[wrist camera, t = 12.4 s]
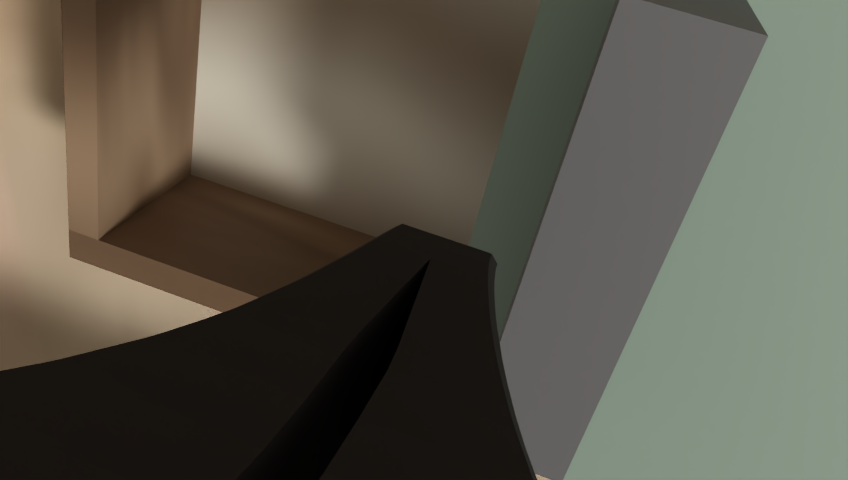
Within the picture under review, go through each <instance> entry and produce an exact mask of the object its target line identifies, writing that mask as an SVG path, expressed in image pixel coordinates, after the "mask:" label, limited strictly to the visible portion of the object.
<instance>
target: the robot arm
mask: <svg viewBox="0 0 848 480" xmlns="http://www.w3.org/2000/svg"><path fill="white" fill-rule="evenodd" d="M496 267H497V262H496V260H495V259H494V257H493V255H492V254H491V253H488V252H486V251H483V250H480V249H477V248H474V247H471V246H468V245H465V244H462V243H459V242H456V241H453V240H450V239H447V238H444V237H441V236H438V235H435V234H432V233H429V232H426V231H423V230H420V229H417V228H414V227H411V226H408V225H405V224H400V225H398V226H396V227H394V228H392V229H390V230H388V231H386V232H385V233H383V234H381V235H379V236H378V237H376V238H374V239H372V240H371V241H369V242H367V243H365V244H364V245H362V246H360V247H358V248H357V249H355V250H353V251H351V252H349V253H348V254H346V255H344V256H342V257H341V258H339V259H337V260H335V261H333V262H331V263H329V264H327V265H325V266H323V267H321V268H320V269H318V270H316V271H314V272H312V273H310V274H308V275H306V276H304V277H302V278H300V279H298V280H296V281H294V282H292V283H290V284H288V285H286V286H284V287H281V288H279V289H277V290H275V291H272V292H270V293H268V294H266V295H263V296H261V297H259V298H257V299H254V300H252V301H250V302H248V303H245V304H243V305H241V306H238V307H236V308H233V309H231V310H228V311H226V312H223V313H220V314H218V315H215V316H212V317H209V318H207V319H204V320H201V321H198V322H195V323H191V324H188V325H185V326H182V327H179V328H176V329H173V330H170V331H167V332H164V333H161V334H157V335H154V336H151V337H147V338H143V339H139V340H135V341H131V342H127V343H123V344H119V345H115V346H111V347H107V348H103V349H99V350H95V351H91V352H88V353H84V354H80V355H76V356H72V357H68V358H64V359H59V360H55V361H50V362H45V363H40V364H35V365H30V366H24V367H19V368H14V369H9V370H4V371H0V480H537V478H536V475H535V473H534V470H533V467H532V464H531V461H530V459H529V456H528V453H527V450H526V447H525V444H524V441H523V438H522V435H521V432H520V428H519V425H518V422H517V418H516V415H515V411H514V407H513V403H512V399H511V396H510V392H509V388H508V384H507V379H506V375H505V370H504V365H503V360H502V354H501V348H500V342H499V336H498V330H497V321H496V312H495V296H494V283H495V272H496Z"/></svg>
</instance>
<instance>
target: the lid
mask: <svg viewBox="0 0 848 480" xmlns="http://www.w3.org/2000/svg"><path fill="white" fill-rule="evenodd" d="M469 246H471V247H474V248H477V249H480V250H483V251H486V252H488V253H491V254H492V255H493V257H494V259H495V260H496V262H497V267H496V272H495V283H494V296H495V312H496V321H497V330H498V336H499V342H500V348H501V354H502V360H503V365H504V370H505V375H506V379H507V384H508V388H509V392H510V396H511V399H512V403H513V407H514V411H515V415H516V418H517V422H518V425H519V428H520V432H521V435H522V438H523V441H524V444H525V447H526V450H527V453H528V456H529V459H530V461H531V464H532V467H533V470H534V473H535V474H538V475H540V476H543V477H546V478H549V479H551V480H848V0H541V2H540V6H539V9H538V13H537V16H536V19H535V23H534V26H533V30H532V33H531V36H530V40H529V43H528V46H527V50H526V53H525V57H524V60H523V63H522V67H521V70H520V74H519V77H518V80H517V84H516V87H515V91H514V94H513V97H512V101H511V104H510V107H509V111H508V114H507V118H506V121H505V124H504V128H503V131H502V135H501V138H500V141H499V145H498V148H497V151H496V155H495V158H494V162H493V165H492V168H491V172H490V175H489V179H488V182H487V185H486V189H485V192H484V195H483V199H482V202H481V206H480V209H479V212H478V216H477V219H476V223H475V226H474V229H473V233H472V236H471V239H470V243H469Z"/></svg>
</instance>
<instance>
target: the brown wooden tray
mask: <svg viewBox="0 0 848 480" xmlns="http://www.w3.org/2000/svg"><path fill="white" fill-rule="evenodd" d="M540 2H541V0H61V10H62V40H63V69H64V99H65V129H66V158H67V188H68V217H69V247H70V257H72V258H74V259H77V260H80V261H83V262H85V263H88V264H91V265H94V266H97V267H99V268H102V269H105V270H108V271H110V272H113V273H116V274H119V275H121V276H124V277H127V278H130V279H132V280H135V281H138V282H141V283H143V284H146V285H149V286H152V287H154V288H157V289H160V290H163V291H165V292H168V293H171V294H174V295H177V296H179V297H182V298H185V299H188V300H190V301H193V302H196V303H199V304H201V305H204V306H207V307H210V308H212V309H215V310H218V311H221V312H226V311H228V310H231V309H233V308H236V307H238V306H241V305H243V304H245V303H248V302H250V301H252V300H254V299H257V298H259V297H261V296H263V295H266V294H268V293H270V292H272V291H275V290H277V289H279V288H281V287H284V286H286V285H288V284H290V283H292V282H294V281H296V280H298V279H300V278H302V277H304V276H306V275H308V274H310V273H312V272H314V271H316V270H318V269H320V268H321V267H323V266H325V265H327V264H329V263H331V262H333V261H335V260H337V259H339V258H341V257H342V256H344V255H346V254H348V253H349V252H351V251H353V250H355V249H357V248H358V247H360V246H362V245H364V244H365V243H367V242H369V241H371V240H372V239H374V238H376V237H378V236H379V235H381V234H383V233H385V232H386V231H388V230H390V229H392V228H394V227H396V226H398V225H400V224H405V225H408V226H411V227H414V228H417V229H420V230H423V231H426V232H429V233H432V234H435V235H438V236H441V237H444V238H447V239H450V240H453V241H456V242H459V243H462V244H465V245H468V246H469V243H470V239H471V236H472V233H473V229H474V226H475V223H476V219H477V216H478V212H479V209H480V206H481V202H482V199H483V195H484V192H485V189H486V185H487V182H488V179H489V175H490V172H491V168H492V165H493V162H494V158H495V155H496V151H497V148H498V145H499V141H500V138H501V135H502V131H503V128H504V124H505V121H506V118H507V114H508V111H509V107H510V104H511V101H512V97H513V94H514V91H515V87H516V84H517V80H518V77H519V74H520V70H521V67H522V63H523V60H524V57H525V53H526V50H527V46H528V43H529V40H530V36H531V33H532V30H533V26H534V23H535V19H536V16H537V13H538V9H539V6H540Z"/></svg>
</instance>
